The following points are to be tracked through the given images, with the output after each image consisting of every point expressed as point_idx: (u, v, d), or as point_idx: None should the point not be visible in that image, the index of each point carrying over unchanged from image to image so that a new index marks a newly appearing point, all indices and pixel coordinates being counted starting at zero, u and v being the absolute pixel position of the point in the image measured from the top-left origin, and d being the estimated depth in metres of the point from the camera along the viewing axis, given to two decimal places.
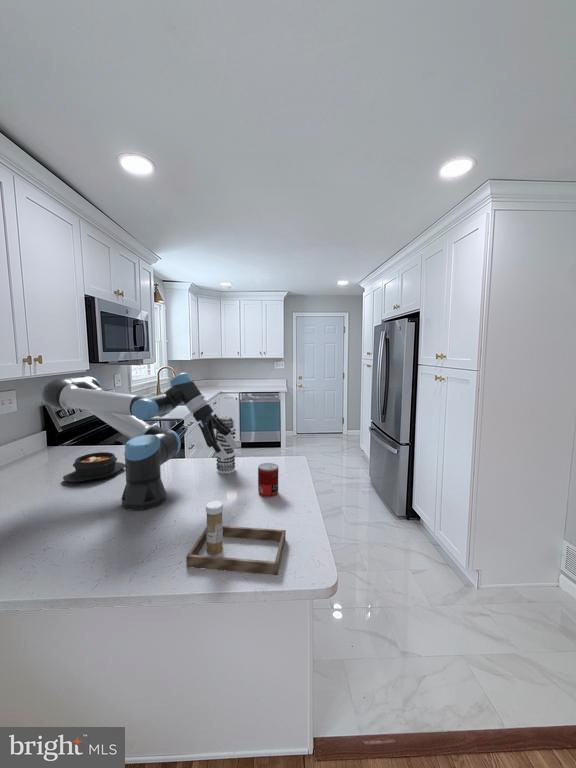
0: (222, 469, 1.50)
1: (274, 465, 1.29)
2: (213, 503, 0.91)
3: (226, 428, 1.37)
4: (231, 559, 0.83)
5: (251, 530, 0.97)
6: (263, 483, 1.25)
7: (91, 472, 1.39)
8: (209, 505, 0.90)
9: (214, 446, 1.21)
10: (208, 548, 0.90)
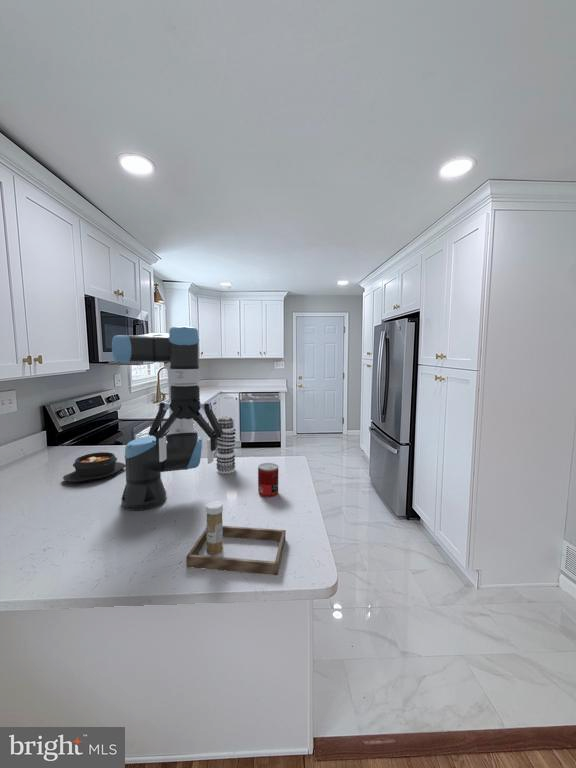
0: (222, 469, 1.50)
1: (274, 465, 1.29)
2: (213, 503, 0.91)
3: None
4: (231, 559, 0.83)
5: (251, 530, 0.97)
6: (263, 483, 1.25)
7: (91, 472, 1.39)
8: (209, 505, 0.90)
9: None
10: (208, 548, 0.90)
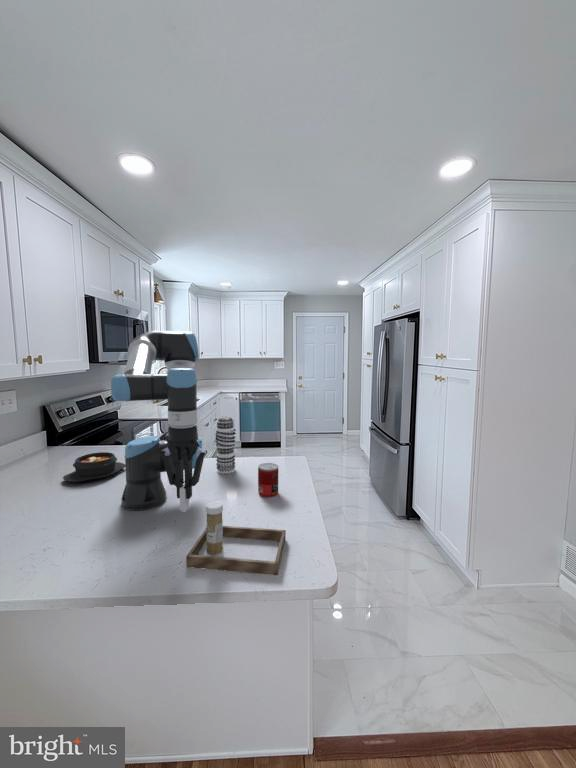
0: (222, 469, 1.50)
1: (274, 465, 1.29)
2: (213, 503, 0.91)
3: None
4: (231, 559, 0.83)
5: (251, 530, 0.97)
6: (263, 483, 1.25)
7: (91, 472, 1.39)
8: (209, 505, 0.90)
9: None
10: (208, 548, 0.90)
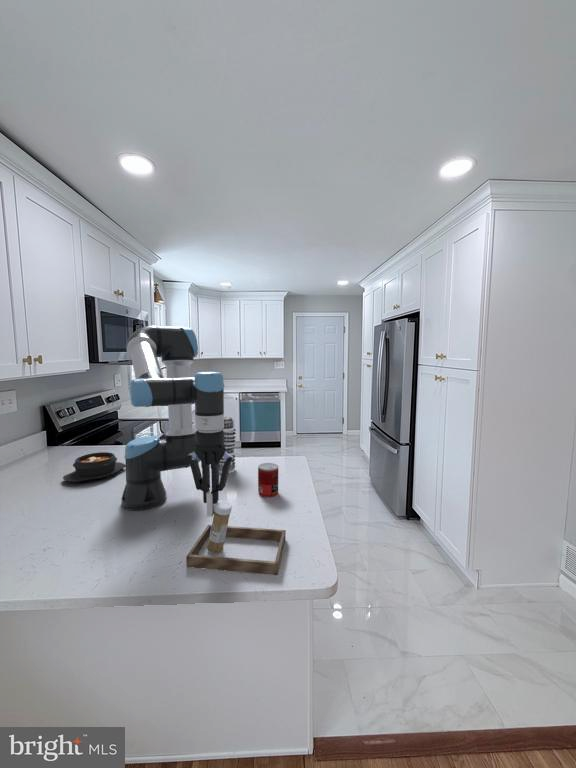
0: (222, 469, 1.50)
1: (274, 465, 1.29)
2: (223, 503, 0.90)
3: None
4: (231, 559, 0.83)
5: (251, 530, 0.97)
6: (263, 483, 1.25)
7: (91, 472, 1.39)
8: (219, 504, 0.89)
9: None
10: (209, 546, 0.90)
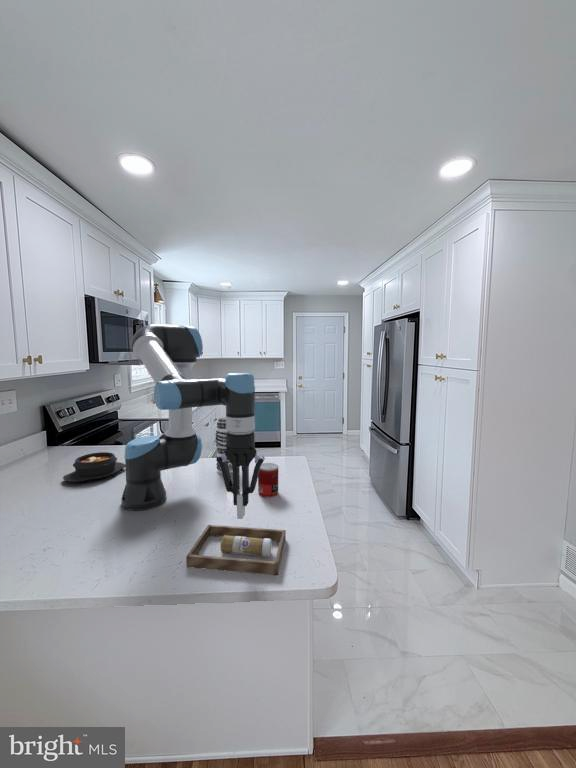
0: None
1: (274, 465, 1.29)
2: (270, 545, 0.90)
3: (250, 484, 0.87)
4: (231, 559, 0.83)
5: (251, 530, 0.97)
6: (263, 483, 1.25)
7: (91, 472, 1.39)
8: (269, 545, 0.88)
9: None
10: (226, 543, 0.89)
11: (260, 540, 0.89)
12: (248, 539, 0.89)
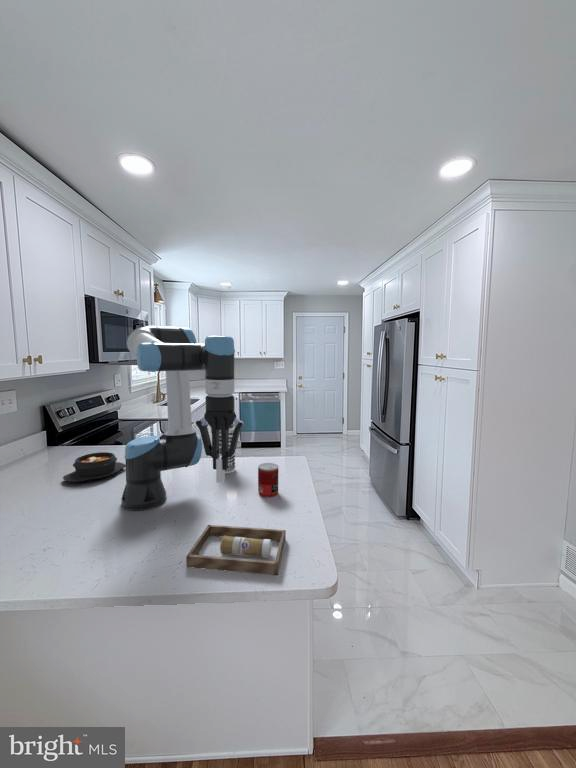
0: None
1: (274, 465, 1.29)
2: (270, 546, 0.89)
3: None
4: (231, 559, 0.83)
5: (251, 530, 0.97)
6: (263, 483, 1.25)
7: (91, 472, 1.39)
8: (269, 547, 0.88)
9: None
10: (225, 545, 0.88)
11: (259, 542, 0.88)
12: (247, 541, 0.89)
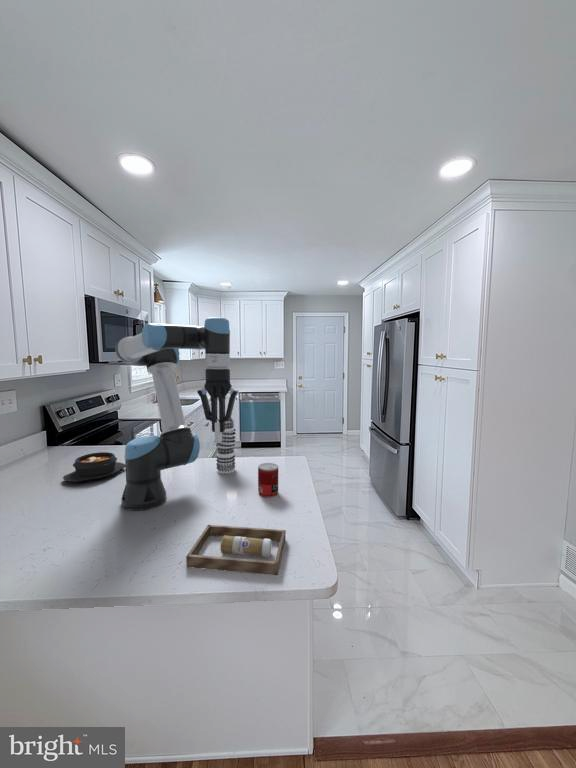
0: (222, 469, 1.50)
1: (274, 465, 1.29)
2: (270, 546, 0.89)
3: (226, 413, 1.03)
4: (231, 559, 0.83)
5: (251, 530, 0.97)
6: (263, 483, 1.25)
7: (91, 472, 1.39)
8: (269, 546, 0.88)
9: None
10: (226, 544, 0.89)
11: (260, 541, 0.89)
12: (248, 540, 0.89)
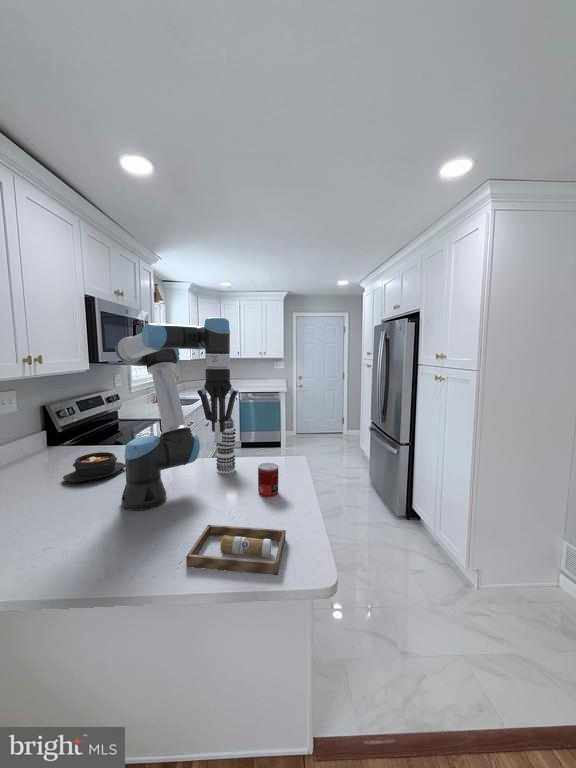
0: (222, 469, 1.50)
1: (274, 465, 1.29)
2: (270, 546, 0.89)
3: (226, 413, 1.03)
4: (231, 559, 0.83)
5: (251, 530, 0.97)
6: (263, 483, 1.25)
7: (91, 472, 1.39)
8: (269, 546, 0.88)
9: None
10: (225, 544, 0.89)
11: (260, 541, 0.89)
12: (248, 540, 0.89)
